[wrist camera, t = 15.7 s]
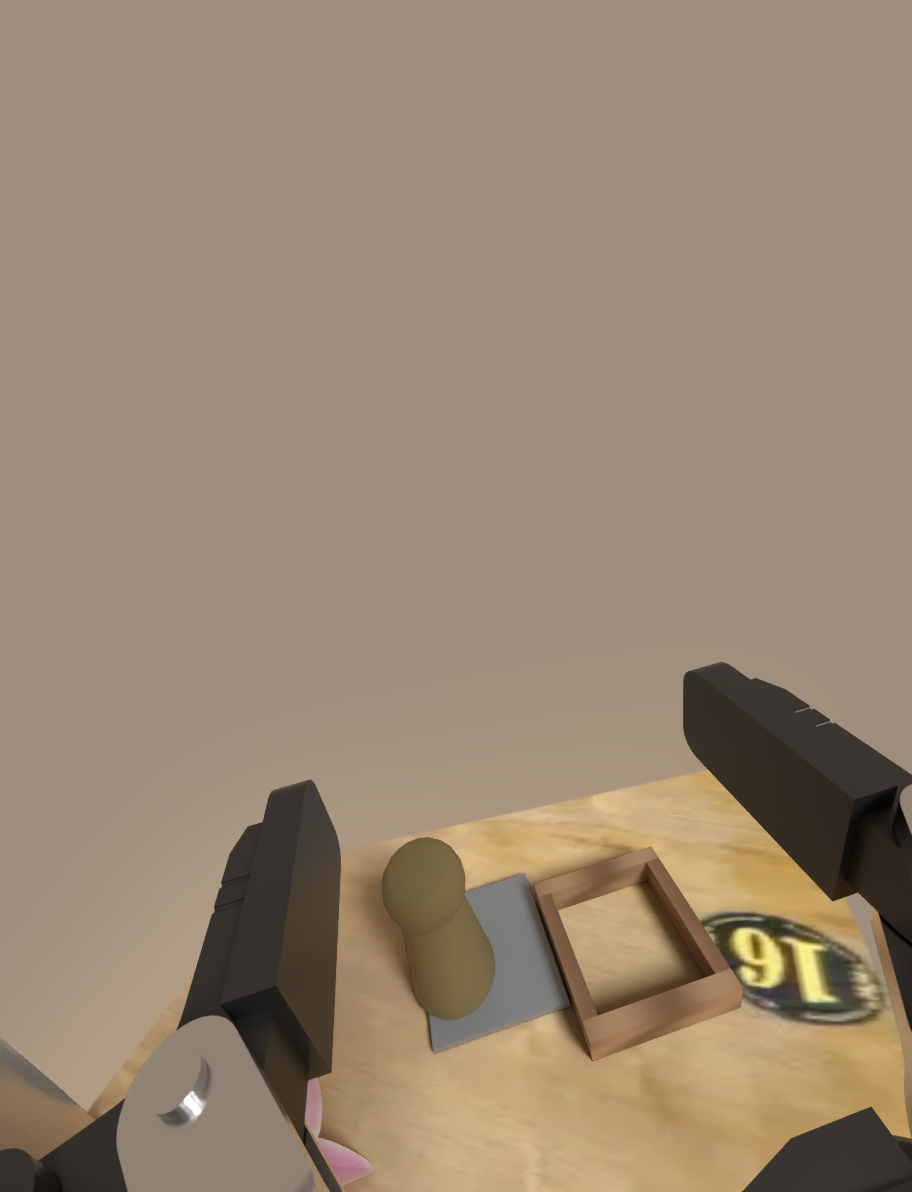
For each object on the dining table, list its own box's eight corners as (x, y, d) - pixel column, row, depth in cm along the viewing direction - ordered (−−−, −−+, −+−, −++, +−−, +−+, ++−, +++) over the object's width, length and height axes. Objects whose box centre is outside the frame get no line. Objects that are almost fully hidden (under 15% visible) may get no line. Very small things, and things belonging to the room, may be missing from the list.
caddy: (592, 1061, 27) (589, 1042, 27) (537, 902, 36) (533, 884, 35) (740, 1007, 28) (742, 987, 27) (651, 865, 37) (651, 846, 36)
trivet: (434, 1054, 29) (432, 1049, 29) (418, 911, 37) (417, 907, 37) (570, 1006, 30) (569, 1002, 30) (525, 877, 38) (524, 873, 38)
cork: (470, 1040, 29) (433, 935, 25) (394, 993, 32) (348, 891, 28) (509, 942, 34) (483, 838, 29) (439, 909, 37) (405, 810, 32)
